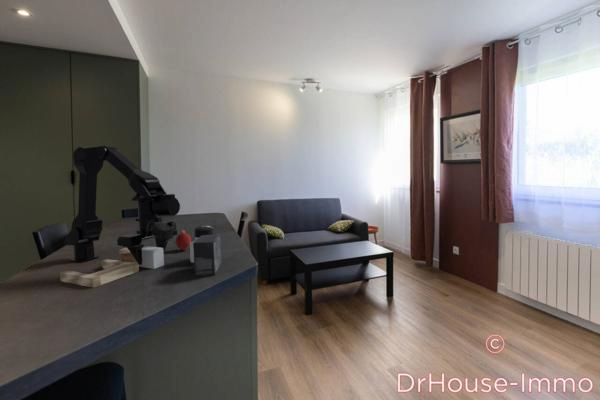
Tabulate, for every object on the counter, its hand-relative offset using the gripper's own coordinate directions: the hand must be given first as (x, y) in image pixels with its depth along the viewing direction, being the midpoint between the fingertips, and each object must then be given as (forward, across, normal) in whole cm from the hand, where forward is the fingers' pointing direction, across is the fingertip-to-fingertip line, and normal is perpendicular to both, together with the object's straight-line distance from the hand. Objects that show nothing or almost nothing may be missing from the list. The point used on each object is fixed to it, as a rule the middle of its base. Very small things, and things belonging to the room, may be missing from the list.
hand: (151, 261), depth 97 cm
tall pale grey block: (+2, 0, 0) cm, 2 cm away
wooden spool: (+2, -1, +9) cm, 9 cm away
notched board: (+2, -12, +6) cm, 14 cm away
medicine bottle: (+2, +11, -13) cm, 17 cm away
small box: (+2, +3, -21) cm, 21 cm away
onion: (+2, +19, +4) cm, 19 cm away
